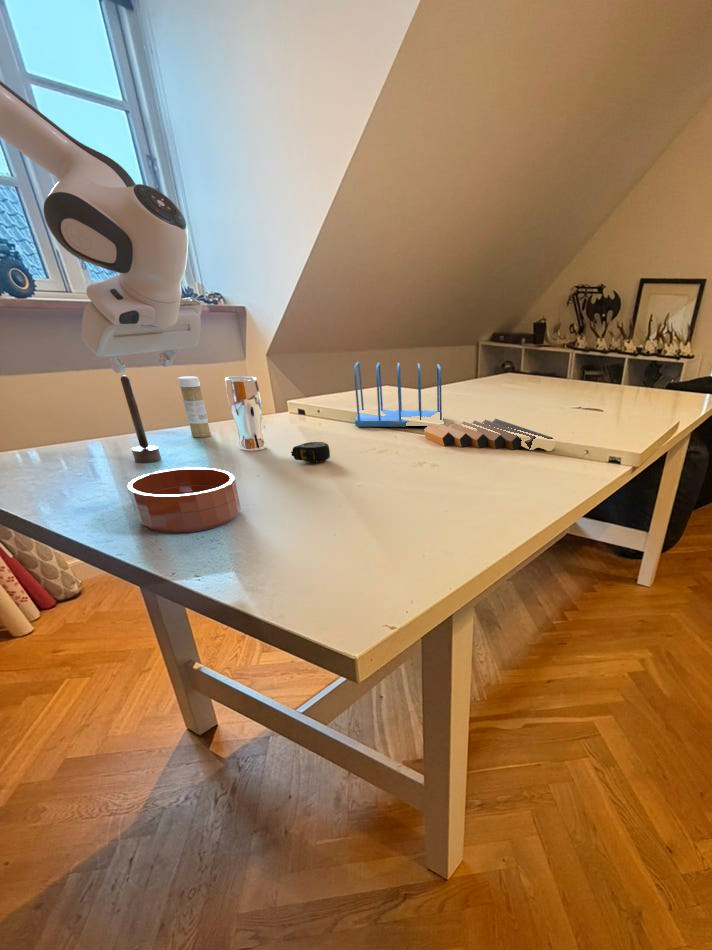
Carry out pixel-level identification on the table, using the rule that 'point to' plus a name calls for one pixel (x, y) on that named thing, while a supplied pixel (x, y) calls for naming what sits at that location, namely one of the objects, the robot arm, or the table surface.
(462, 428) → the pan flute
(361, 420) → the file sorter
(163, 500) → the bowl
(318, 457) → the tape measure
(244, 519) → the table surface
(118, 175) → the robot arm
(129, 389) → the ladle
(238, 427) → the beer glass
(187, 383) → the sprinkles bottle
